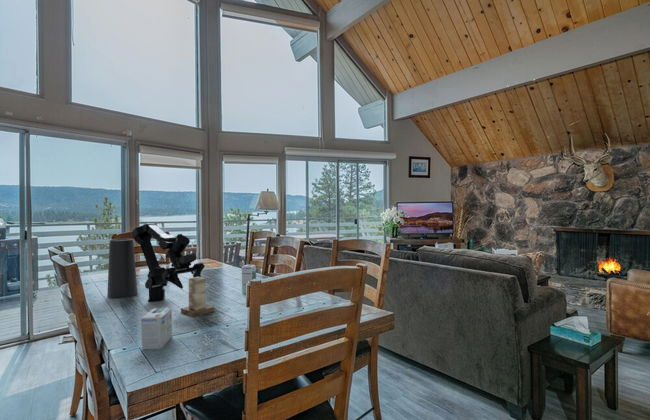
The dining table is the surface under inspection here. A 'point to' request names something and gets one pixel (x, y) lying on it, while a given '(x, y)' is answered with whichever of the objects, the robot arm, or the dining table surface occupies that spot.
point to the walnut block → (197, 311)
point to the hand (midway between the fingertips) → (191, 286)
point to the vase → (121, 269)
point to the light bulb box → (156, 328)
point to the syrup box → (247, 275)
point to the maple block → (197, 293)
